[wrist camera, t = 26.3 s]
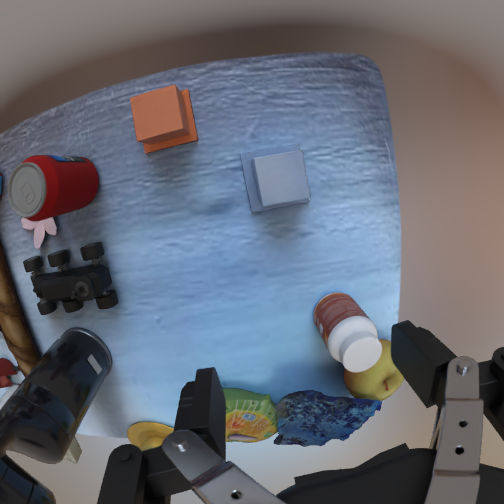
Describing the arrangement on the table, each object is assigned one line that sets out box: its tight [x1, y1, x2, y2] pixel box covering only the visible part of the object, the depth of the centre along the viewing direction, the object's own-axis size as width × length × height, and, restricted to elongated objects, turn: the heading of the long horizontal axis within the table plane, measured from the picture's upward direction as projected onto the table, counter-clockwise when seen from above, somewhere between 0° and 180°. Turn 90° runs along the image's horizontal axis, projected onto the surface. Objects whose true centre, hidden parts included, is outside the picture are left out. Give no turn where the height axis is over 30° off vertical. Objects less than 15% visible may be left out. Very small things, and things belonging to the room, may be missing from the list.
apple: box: [343, 339, 404, 401], centre depth 38 cm, size 10×10×8 cm
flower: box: [21, 217, 57, 249], centre depth 33 cm, size 10×10×2 cm
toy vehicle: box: [23, 242, 118, 315], centre depth 32 cm, size 8×15×9 cm, turn 99°
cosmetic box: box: [63, 436, 82, 463], centre depth 43 cm, size 6×4×12 cm
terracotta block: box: [130, 85, 190, 145], centre depth 29 cm, size 5×5×5 cm
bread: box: [0, 242, 40, 378], centre depth 36 cm, size 38×5×5 cm, turn 5°
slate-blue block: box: [251, 150, 311, 207], centre depth 32 cm, size 5×5×5 cm
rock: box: [274, 390, 382, 447], centre depth 38 cm, size 15×17×2 cm
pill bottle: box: [313, 292, 382, 372], centre depth 34 cm, size 6×6×11 cm
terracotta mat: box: [143, 89, 198, 154], centre depth 32 cm, size 6×6×1 cm
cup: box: [127, 422, 174, 451], centre depth 43 cm, size 12×12×5 cm
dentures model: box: [0, 358, 17, 388], centre depth 38 cm, size 6×4×8 cm
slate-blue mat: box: [240, 144, 310, 213], centre depth 34 cm, size 7×7×1 cm
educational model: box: [222, 388, 279, 443], centre depth 41 cm, size 13×16×5 cm
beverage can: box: [8, 155, 99, 222], centre depth 28 cm, size 7×7×12 cm
